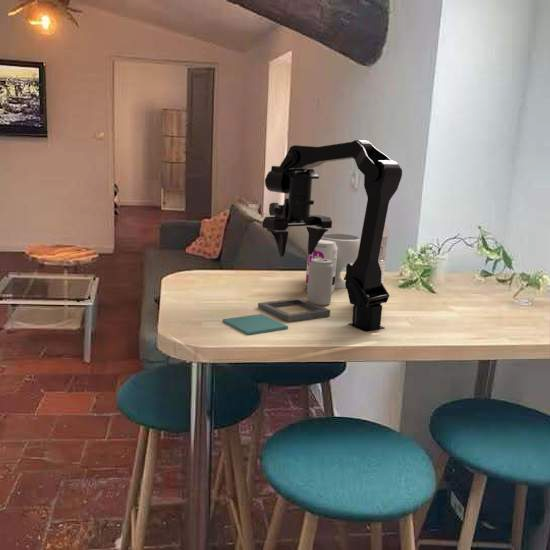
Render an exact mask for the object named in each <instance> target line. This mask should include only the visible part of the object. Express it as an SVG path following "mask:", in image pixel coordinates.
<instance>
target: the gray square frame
mask: <svg viewBox="0 0 550 550" xmlns="http://www.w3.org/2000/svg"><path fill="white" fill-rule="evenodd" d="M257 304H258V305H257V308H258V309H259V310H261V311H263V312H265V313H267V314H269V315H270V316H273V317H276V318H277V319H279V320H282V321H284V322H287V323H294V322H300V321H307V320H312V319H319V318H326V317H330V316H331V309H329V308H325V307H324V306H318V305H316V304H313V303H311V302H308V301H307V299H302V298H301V297H294V298H288V299H279V300H271V301H264V302H258V303H257ZM295 305H296V306H299V307H303V308H304V309H306V310H307V311H302V312H294V313H288V312H286V311H284V310H281V309H280V308H282V307H289V306H295Z"/></svg>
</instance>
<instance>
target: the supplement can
mask: <svg viewBox="0 0 550 550" xmlns="http://www.w3.org/2000/svg"><path fill="white" fill-rule="evenodd" d="M314 258H323V259H329V260H332V261H333V262H332V264H333V266H334V267H333V280H332V292H331V295H332V294H333V293H335V288H334V286H335V273H336V261H337V246H336V242H334V241H331V240H322V239H320V241H319V242H318V244H317V246H316V247H315V249H314V251H313V253H312V254H311V255H310V254H308V253H307V263H306V275H305V276H306V277H305V288H304V289H305V292H306V293H307V292H308V278H309V264H310V263H311V259H314Z"/></svg>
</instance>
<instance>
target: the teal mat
mask: <svg viewBox="0 0 550 550" xmlns="http://www.w3.org/2000/svg"><path fill="white" fill-rule="evenodd" d="M222 323H224V324H226V325H227V326H230V327H232V328H234V329H235V330H238V331H240V332H241V333H243V334H245V335H247V336H251V335H257V334H263V333H269V332H275V331H282V330H283V331H284V330H288V329H289V326H288V325H286V324H284V323H282V322H279V321H278V320H276V319H273V318H271V317H269V316H267V315H265V314H262V313H257V314H253V315H252V314H251V315H245V316H238V317H237V316H236V317H230V318H222Z"/></svg>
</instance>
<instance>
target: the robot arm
mask: <svg viewBox="0 0 550 550" xmlns="http://www.w3.org/2000/svg"><path fill="white" fill-rule="evenodd" d="M352 159H353V160H354V162H355V165H356V167H357V168H358V170H359V171H360V172H361V173H362V175H363V178H364V179H363V186H364V189H365V193H366V197H367V202H366V206H365V214H364V217H363V223H362V224H363V225H362V228H363V229H362V228H361V229H362V230H361V234H360V246H359V251H358V257H357V259H356V260H355V262H354V263H348V264H347V266H346V267H345V268H346V269H345V275H344V277H343V280H346V282H345V286H346V288H345V289H346V291H347V295H348V300H349V304H351V305H353V308H352V309H353V310H352V319H351V320H352V321H351V322H350V323H347V325H348V326H350V327H353V328H355V329H357V330H360V331H362V332H373V331H377V330H378V331H379V330H384V329H386V328H385V327H384V326H383V325H381V323H382V313H383V304H386V303H387V302H388V300H389V299H390V294H389V292H388V291H387V288H385V286H384V283H383V284H382V283H381V275H382V272H381V268H380V265H379V262H378V258H379V253H380V247H381V242H382V237H383V231H384V226H385V225H386V220H387V219H386V218H387V214H388V209H389V204H390V201H391V199H392V198H393V196H394V195H395V194H396V192H397V191H398V188H399V185H400V182H401V180H402V176H403V169H402V167H401V166H400V164H399V163H398V162H397V161H395V160H392V159H391V158H390V157H389V156H387V155H386V154H385V153H384V152H382V151H380V150H379V149H378V148H377V147H375V146H374V145H373V143H371V141H368V140H363V139H361V140H360V139H355V140H352V141H348V142H341V143H335V144H328V145H322V146H316V145H315V146H313V145H299V144H298V145H294V144H293V145H291V146H290V147H289V150H288V152H287V154H286V155H285V157H284V158H283V160H282V162H281V163H280V165H271V169H270V171H269V172H268V173H267V175H265V176H266V177H265V179H264V185H265V188H266V189H267V190H268V192H269V191H270V192H273V193H281V194H288V197H285V199H284V204H281V205H280V203H279V202H271V203H269V206H268V207H269V208H268V212H269V213H268V214H269V216H265V217H264V219H263V220H262V229H266V231H267V232H270V233H271V234H272V236H273V239H274V241H275V244H276V247H277V251H278V254H279V256H280V257H282V258H284V257H285V253H286V249H287V242H288V237H289V231H288V230H287V229H288V228H289V227H305V228H306V229H307V233H308V239H307V255H308V254H310V255H311V254H312V253H313V251H314V249H315V247H316V246H317V244H318V242H319V241H320V239H321V238H322V236H323V235H324V234H326V232H328V230H329V229H332V227H333V220H332V219H331V216H326V215H321V214H315V215H314V214H312V215H311V205H314V203H315V200H313V199H311V198H312V187H313V186H312V185H313V180H319V179H320V176H319V174H317V173H316V171H315V169H314V168H317V167H320V166H321V165H322V164H325V163H328V162H337V161H344V160H352ZM367 295H369V297H368V296H367ZM380 304H381V305H380Z"/></svg>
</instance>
